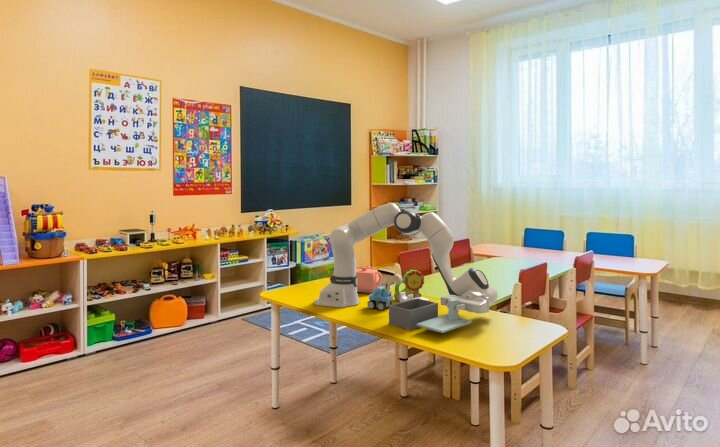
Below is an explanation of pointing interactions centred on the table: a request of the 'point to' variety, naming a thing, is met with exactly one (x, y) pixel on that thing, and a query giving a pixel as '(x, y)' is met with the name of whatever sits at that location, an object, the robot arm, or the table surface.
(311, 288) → the table surface
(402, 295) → the bracket
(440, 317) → the lid
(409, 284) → the toy lion
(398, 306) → the tub
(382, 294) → the toy excavator
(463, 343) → the table surface
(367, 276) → the teapot
